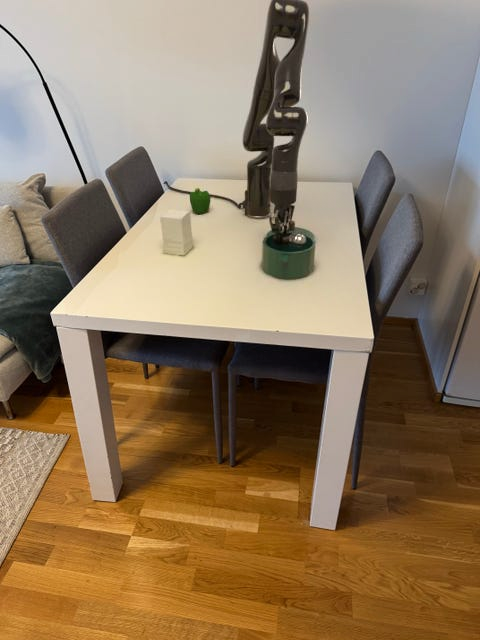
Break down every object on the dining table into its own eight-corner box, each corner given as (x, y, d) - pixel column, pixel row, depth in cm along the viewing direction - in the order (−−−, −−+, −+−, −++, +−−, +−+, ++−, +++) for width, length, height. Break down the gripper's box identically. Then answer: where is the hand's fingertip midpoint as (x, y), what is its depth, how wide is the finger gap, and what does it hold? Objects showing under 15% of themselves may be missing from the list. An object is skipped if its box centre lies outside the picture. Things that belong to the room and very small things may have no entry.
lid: (262, 246, 151) (263, 229, 148) (270, 227, 165) (271, 211, 161) (311, 250, 148) (313, 233, 145) (316, 231, 161) (317, 215, 158)
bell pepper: (201, 207, 184) (200, 182, 178) (214, 211, 179) (214, 186, 173) (185, 212, 179) (183, 187, 173) (198, 217, 174) (197, 191, 168)
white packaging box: (193, 247, 151) (191, 210, 144) (184, 256, 145) (181, 218, 138) (173, 244, 153) (170, 208, 146) (163, 253, 147) (159, 216, 140)
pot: (256, 280, 131) (256, 254, 126) (268, 251, 148) (269, 226, 143) (309, 286, 128) (312, 259, 123) (315, 255, 145) (318, 230, 140)
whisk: (270, 244, 134) (271, 232, 132) (275, 239, 137) (276, 227, 135) (302, 250, 130) (303, 238, 128) (307, 245, 133) (308, 233, 131)
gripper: (281, 177, 132) (278, 232, 141) (260, 190, 121) (259, 248, 131) (305, 180, 129) (301, 236, 138) (286, 194, 118) (283, 253, 128)
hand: (280, 242), depth 134 cm, fingers closed on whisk, 2 cm apart
